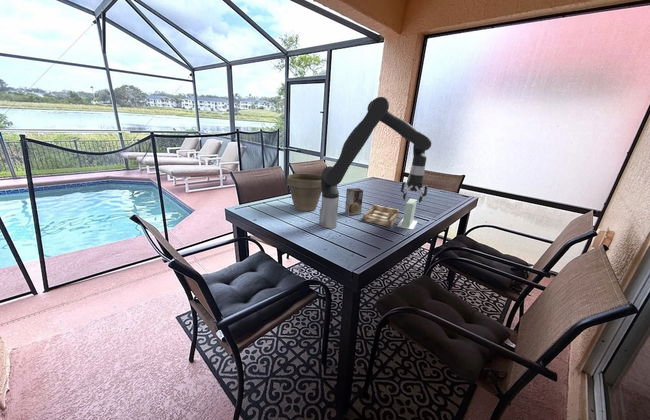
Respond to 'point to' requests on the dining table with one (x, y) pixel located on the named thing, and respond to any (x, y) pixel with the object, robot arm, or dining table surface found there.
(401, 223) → the white flat rectangle
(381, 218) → the front offcut
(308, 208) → the plant pot
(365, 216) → the rack
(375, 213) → the back offcut
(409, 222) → the pale green upright slab
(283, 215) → the dining table surface
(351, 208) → the coffee box
